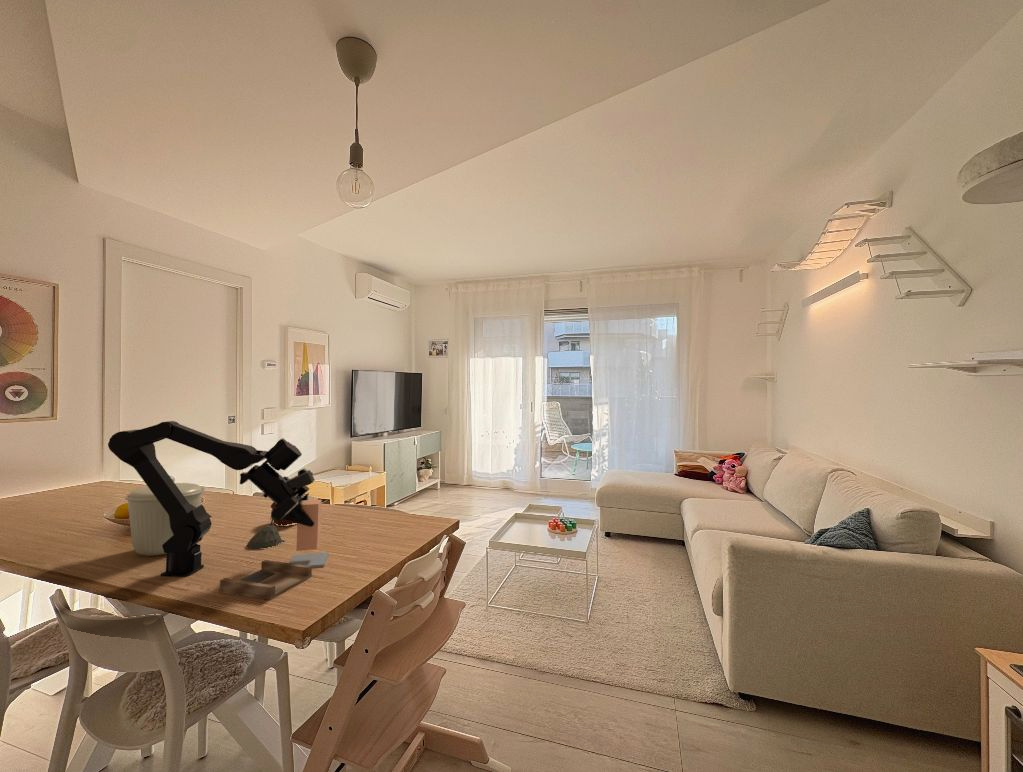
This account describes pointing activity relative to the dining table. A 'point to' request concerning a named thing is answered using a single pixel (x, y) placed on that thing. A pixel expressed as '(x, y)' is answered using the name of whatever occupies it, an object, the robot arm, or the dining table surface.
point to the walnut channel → (268, 580)
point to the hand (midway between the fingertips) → (314, 522)
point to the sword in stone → (265, 537)
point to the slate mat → (310, 559)
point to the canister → (155, 517)
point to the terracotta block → (310, 535)
